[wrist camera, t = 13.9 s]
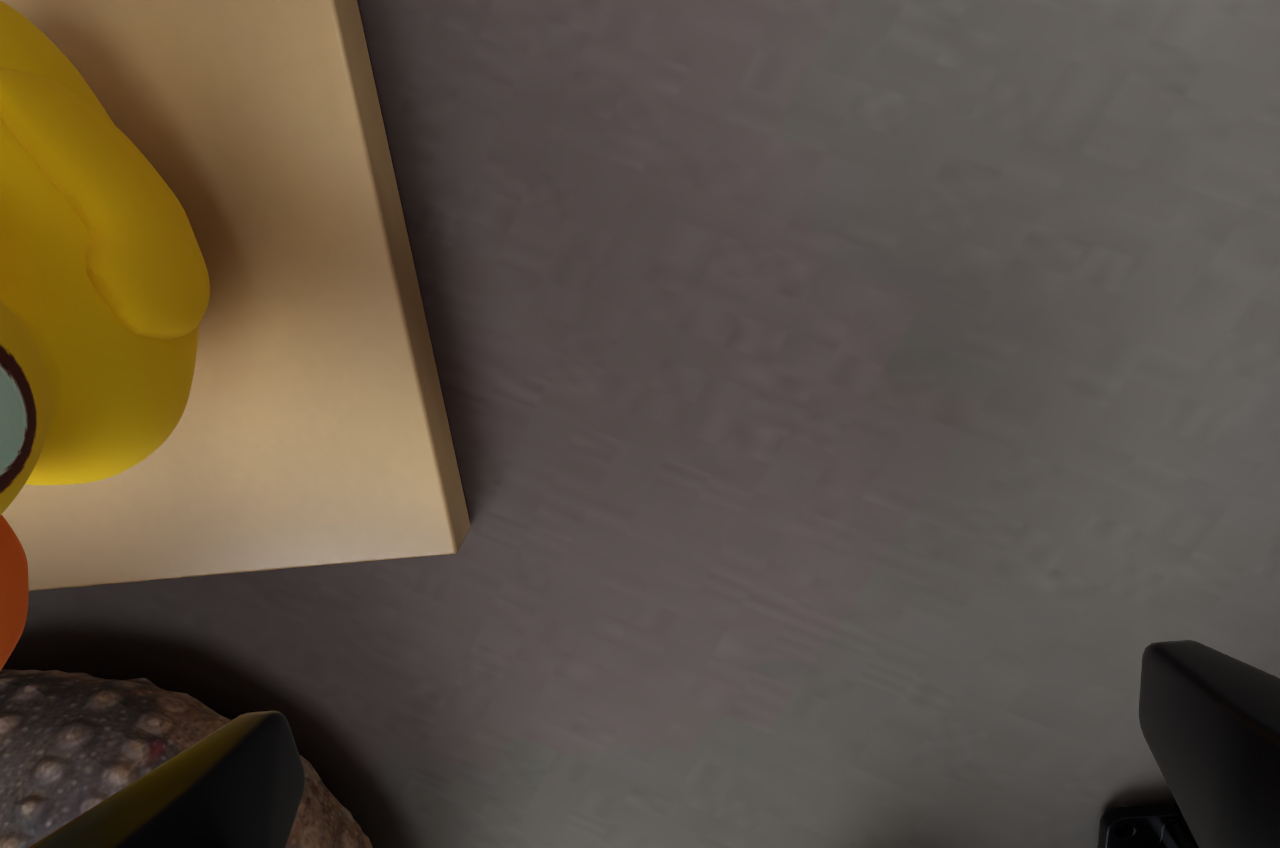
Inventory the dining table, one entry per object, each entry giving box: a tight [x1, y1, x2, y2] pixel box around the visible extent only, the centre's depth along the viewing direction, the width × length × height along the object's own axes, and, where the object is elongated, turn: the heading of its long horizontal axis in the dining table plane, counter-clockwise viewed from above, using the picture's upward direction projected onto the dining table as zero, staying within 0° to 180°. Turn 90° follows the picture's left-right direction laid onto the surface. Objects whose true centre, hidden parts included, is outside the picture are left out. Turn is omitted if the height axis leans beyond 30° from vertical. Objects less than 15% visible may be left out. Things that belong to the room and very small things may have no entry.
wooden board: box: [0, 0, 471, 591], centre depth 19 cm, size 16×12×2 cm
